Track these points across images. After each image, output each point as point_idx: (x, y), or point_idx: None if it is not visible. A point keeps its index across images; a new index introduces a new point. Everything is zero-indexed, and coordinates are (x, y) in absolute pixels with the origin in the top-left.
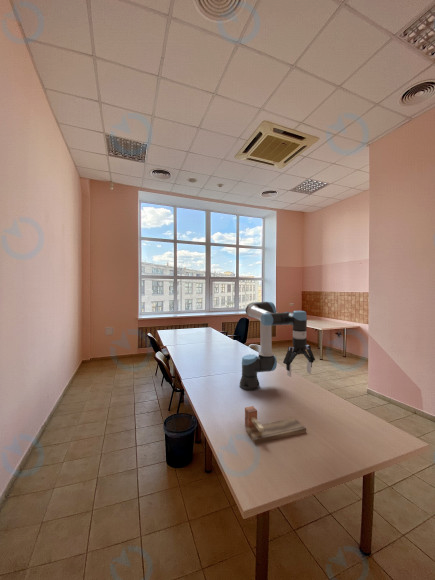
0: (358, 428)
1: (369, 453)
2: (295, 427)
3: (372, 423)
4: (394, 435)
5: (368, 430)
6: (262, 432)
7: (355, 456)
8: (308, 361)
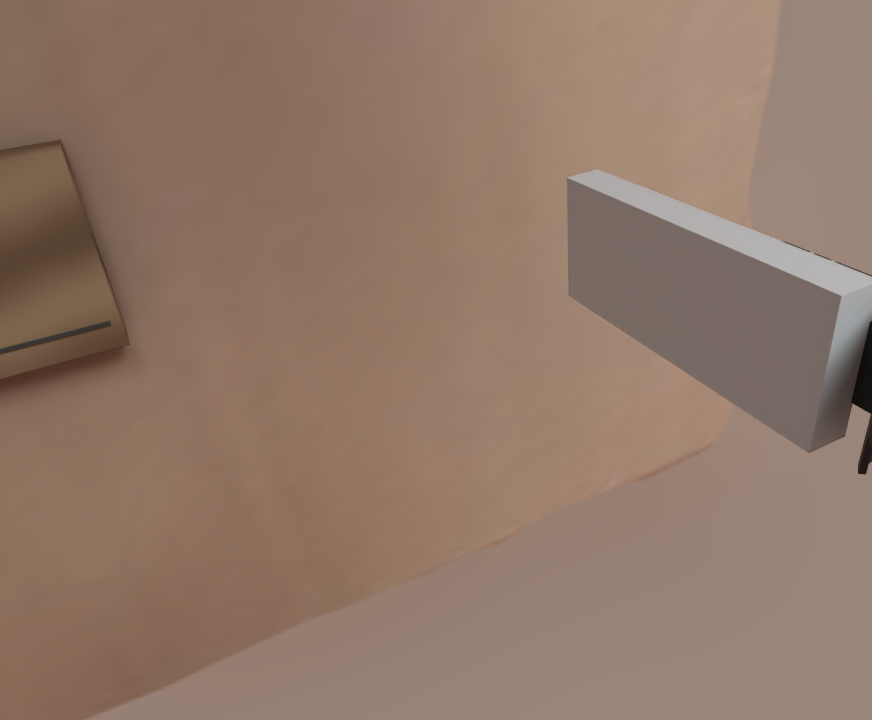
0: None
1: (454, 508)
2: (6, 330)
3: None
4: None
5: None
6: None
7: (358, 541)
8: (855, 335)
